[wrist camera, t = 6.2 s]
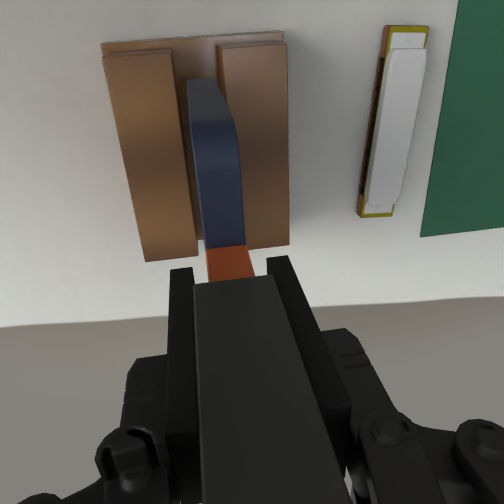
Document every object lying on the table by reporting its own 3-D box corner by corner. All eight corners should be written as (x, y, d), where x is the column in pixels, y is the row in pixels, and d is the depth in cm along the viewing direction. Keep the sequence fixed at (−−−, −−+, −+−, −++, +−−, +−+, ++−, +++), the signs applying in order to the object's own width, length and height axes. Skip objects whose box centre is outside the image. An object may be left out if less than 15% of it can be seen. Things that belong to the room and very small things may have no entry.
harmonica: (388, 210, 38) (398, 220, 36) (355, 212, 37) (363, 222, 36) (423, 25, 31) (437, 26, 29) (383, 25, 30) (395, 26, 28)
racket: (237, 234, 31) (402, 892, 8) (196, 239, 31) (243, 936, 8) (224, 72, 25) (648, 707, 2) (174, 76, 25) (103, 844, 2)
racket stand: (283, 224, 37) (296, 250, 33) (144, 240, 36) (139, 269, 32) (279, 30, 29) (295, 33, 25) (103, 42, 28) (90, 48, 24)
